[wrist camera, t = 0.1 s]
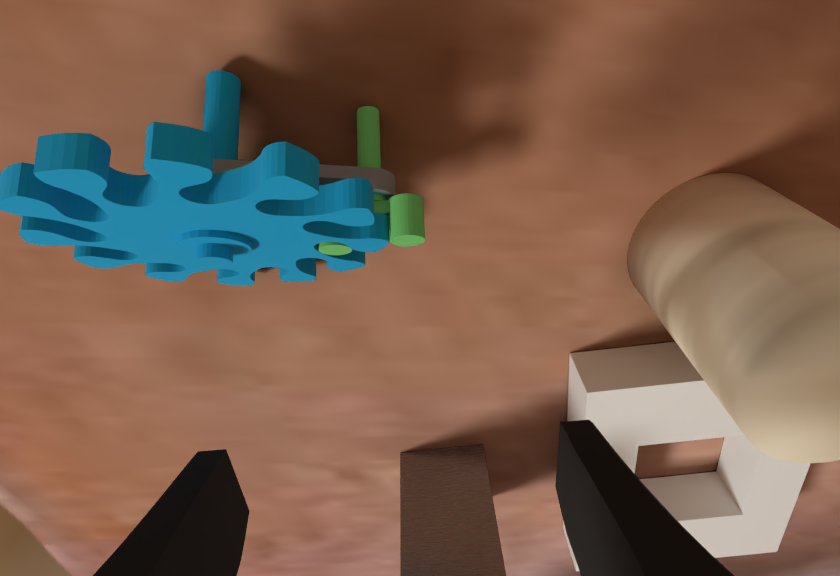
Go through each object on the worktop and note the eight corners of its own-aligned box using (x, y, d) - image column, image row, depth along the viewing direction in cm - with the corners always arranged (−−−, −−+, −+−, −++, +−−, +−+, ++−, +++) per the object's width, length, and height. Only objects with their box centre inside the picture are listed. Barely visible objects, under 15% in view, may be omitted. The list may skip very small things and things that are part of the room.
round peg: (763, 300, 22) (928, 451, 15) (621, 316, 22) (721, 473, 15) (798, 163, 19) (1025, 273, 12) (634, 183, 19) (765, 302, 12)
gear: (89, 300, 19) (-132, 177, 9) (105, 148, 20) (-73, -91, 11) (396, 301, 21) (467, 202, 12) (392, 164, 23) (452, -23, 13)
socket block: (748, 508, 29) (776, 551, 27) (562, 526, 29) (576, 571, 27) (805, 327, 23) (848, 364, 20) (569, 353, 23) (587, 392, 21)
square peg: (487, 497, 28) (515, 671, 21) (410, 505, 28) (414, 681, 21) (483, 444, 26) (513, 617, 19) (400, 452, 26) (400, 627, 19)
